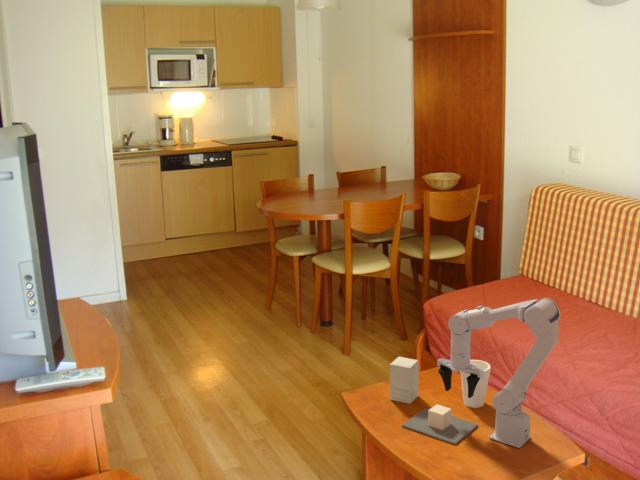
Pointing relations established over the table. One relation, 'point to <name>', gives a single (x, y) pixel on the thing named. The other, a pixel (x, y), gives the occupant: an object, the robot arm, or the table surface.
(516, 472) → the table surface
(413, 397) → the supplement box
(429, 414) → the cream cube
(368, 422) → the table surface
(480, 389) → the foam cup
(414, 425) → the charcoal mat
